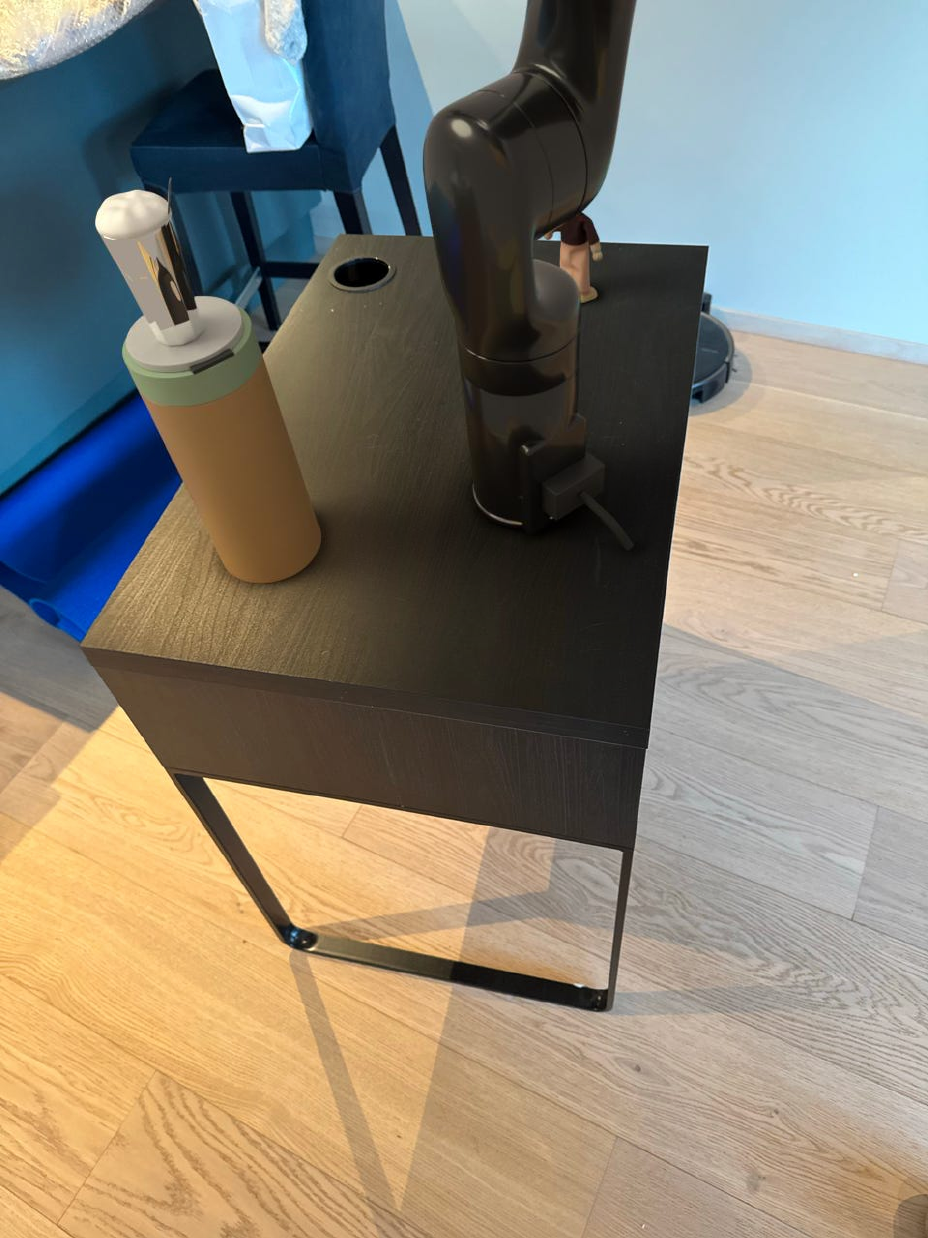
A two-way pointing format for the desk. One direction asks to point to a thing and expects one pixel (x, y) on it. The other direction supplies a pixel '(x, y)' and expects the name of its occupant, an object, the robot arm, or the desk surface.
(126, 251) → the milkshake
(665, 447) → the desk surface
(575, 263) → the grandmother figurine
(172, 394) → the lidded travel tumbler
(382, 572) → the desk surface
